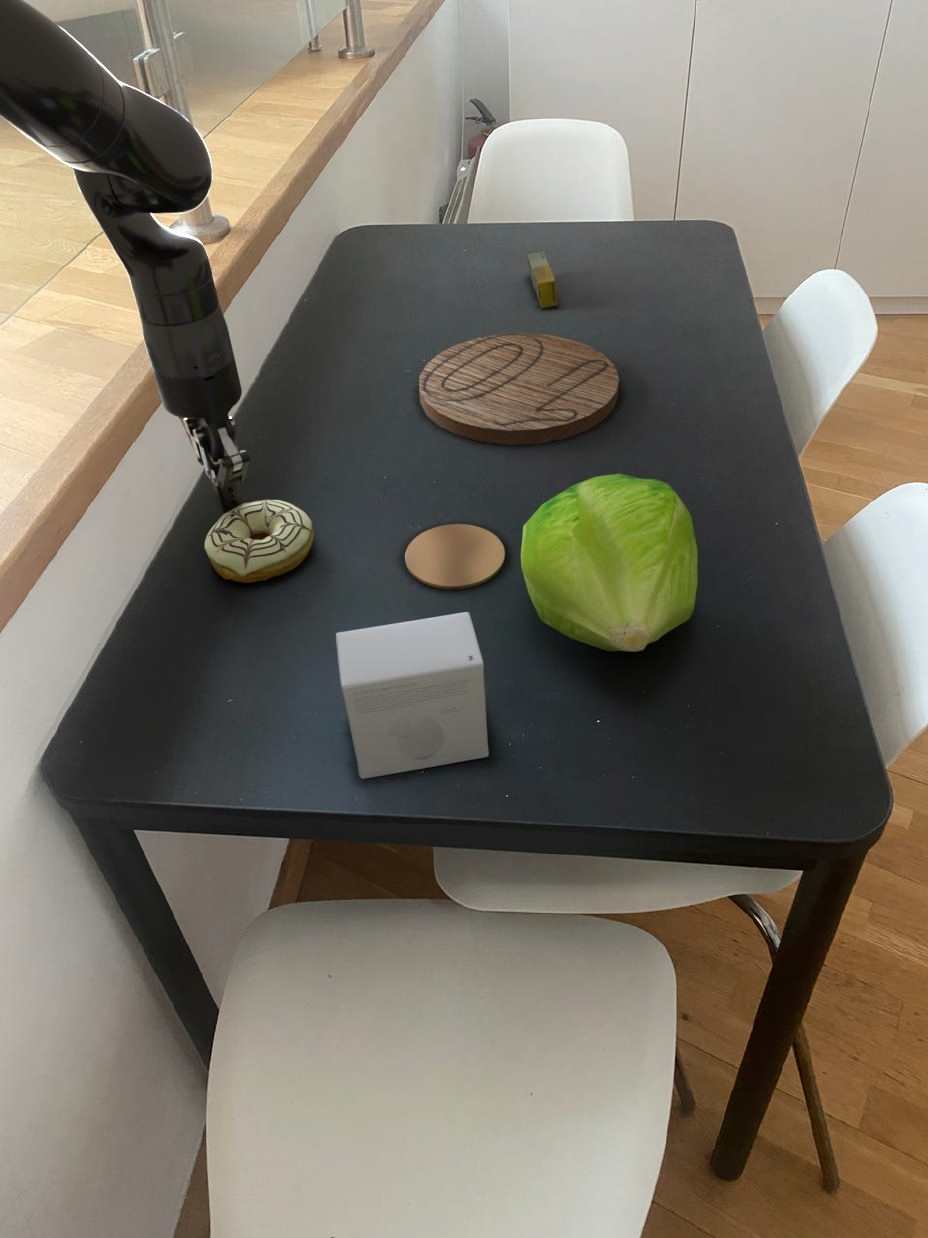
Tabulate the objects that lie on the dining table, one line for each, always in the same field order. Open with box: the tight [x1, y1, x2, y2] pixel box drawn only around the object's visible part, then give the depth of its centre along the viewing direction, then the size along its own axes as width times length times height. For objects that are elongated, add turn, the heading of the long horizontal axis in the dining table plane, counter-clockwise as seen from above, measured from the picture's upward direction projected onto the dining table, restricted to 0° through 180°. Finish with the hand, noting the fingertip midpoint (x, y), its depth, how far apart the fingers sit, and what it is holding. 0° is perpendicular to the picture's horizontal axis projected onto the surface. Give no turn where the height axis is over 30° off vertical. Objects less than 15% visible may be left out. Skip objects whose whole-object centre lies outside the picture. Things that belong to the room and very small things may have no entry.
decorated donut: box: [203, 499, 315, 584], centre depth 93 cm, size 10×11×4 cm
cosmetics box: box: [335, 611, 490, 780], centre depth 71 cm, size 10×6×10 cm, turn 100°
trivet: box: [418, 332, 620, 446], centre depth 116 cm, size 25×25×2 cm
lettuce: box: [520, 473, 699, 653], centre depth 79 cm, size 15×20×14 cm
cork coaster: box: [404, 523, 506, 590], centre depth 92 cm, size 10×10×1 cm
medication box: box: [526, 250, 559, 309], centre depth 136 cm, size 12×3×4 cm, turn 5°
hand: (231, 507), depth 97 cm, fingers closed
